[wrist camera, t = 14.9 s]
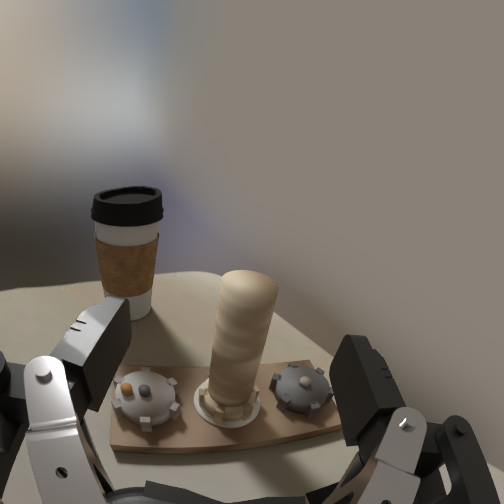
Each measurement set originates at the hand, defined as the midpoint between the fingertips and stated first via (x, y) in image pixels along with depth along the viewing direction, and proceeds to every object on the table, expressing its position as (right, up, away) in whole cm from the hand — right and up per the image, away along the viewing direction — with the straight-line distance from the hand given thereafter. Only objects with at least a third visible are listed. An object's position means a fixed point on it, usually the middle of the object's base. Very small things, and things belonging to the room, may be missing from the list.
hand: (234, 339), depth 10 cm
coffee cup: (-15, -4, +24) cm, 29 cm away
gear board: (-2, -11, +13) cm, 17 cm away
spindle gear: (-2, -10, +12) cm, 16 cm away
